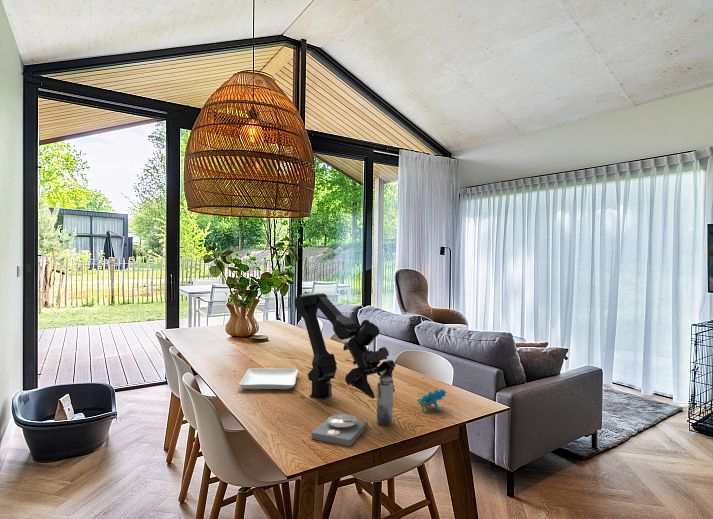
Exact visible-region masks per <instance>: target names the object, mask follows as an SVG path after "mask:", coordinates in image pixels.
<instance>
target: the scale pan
mask: <svg viewBox="0 0 713 519" xmlns="http://www.w3.org/2000/svg"><path fill="white" fill-rule="evenodd" d="M326 420H327V423H328V424H329V425H331V426H333V427H338V428H348V427H352V426H354V425H356V424H357V420H358V418H357V417H356V416H355V415H351V414H348V413H337V414H332V416H331V415H330V416H328V417H327V418H326Z"/></svg>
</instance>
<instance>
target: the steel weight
mask: <svg viewBox="0 0 713 519" xmlns="http://www.w3.org/2000/svg"><path fill="white" fill-rule="evenodd" d="M392 380H393V376H392V377H390V376H379V382H378V383H377V388H376V389H377V393H376V394H377V397H376V424H377V425H378V426H380V425H381V427H390V426H392V425H393V419H394V418H393V416H394V415H393V414H394V413H393V412H394V392H393V384H394V382H393V383H391V381H392Z"/></svg>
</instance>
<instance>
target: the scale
mask: <svg viewBox="0 0 713 519" xmlns="http://www.w3.org/2000/svg"><path fill="white" fill-rule="evenodd" d="M332 415H333V414H332ZM332 415H330V416H332ZM366 427H367V428H368V421H367V420H359V419H357V424H356V425H354V426H352V427H348V428H338V427H333V426H331V425H329V424H328V423H327V419H325V420H324V421H323V422H322V423H321V424H320V425H319V426H317V427H316V428H315V429H313V431H311V433H310V434H311V438H310V439H311V440H316V441H320V442H321V441H322V442H326V443H331V444H337V445H340V446H346V447H351V446H352V445H353V444H354V443H355V441H356V440H357V439H358V438H359V437H360V436H361V435H362V434H363V432H364V431H365V430H366V429H367V428H366ZM360 434H361V435H360Z"/></svg>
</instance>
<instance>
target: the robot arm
mask: <svg viewBox="0 0 713 519" xmlns="http://www.w3.org/2000/svg"><path fill="white" fill-rule="evenodd" d="M294 306H295V309H296V311H297V314H299V316H300V317H301V318H302V319H303V321H304V324H305V327H306V328H305V329H306V331H307V332H306V333H307V334H308V340H309V343H310V346H311V350H312V353H313V358H312V360H311V361H312V362H311V365H312V368H311V370H310V371H309V372H308V373H307V378H308V381H311V394H310V395H309V397H310V398H315V399H321V400H326V399H328V398H329V397H330V396H332V395H333V393H332V392H333V391H332V387H333V385H332V382H331V380H333V379H335V377H336V372H337V370H338V368H337V364H338V363H337V362H336V358H335V354H334V353H330V352H329V351H328V350H327V347H326V344H325V340H324V337H323V333H322V330H321V326H320V323H319V319H318V316H317V313H318V310H320V312H321V313H322V314H323V315H324V316H325V317H326V318H327V320H328V321H329V322H330V323H331V325H332V330H333V333H334V334H335V336H336V337H337V339H339V340H341V341H342V340H343V341H344V340H348V341H345V342H343V343H344V344H343V345H344V346H343V348H342V349H343V351H349V353H350V355H351V357H352V359H353V361H352V363H353V365H356V366H357V367H355V368H351V369H350V371H349V372H348V373H347V374H346V375H345V382H346V385H347V386H351V387H352V388H353V387H354V388H356V389H357V390H358V391H361V393H364V394H365V395H366V396H368V397H369V398H371V399H375V398H376V397H375V394H374V391H373V389H372V386H370V383H369V381H368V376H370V375H371V376H372V375H375V374H377V375H378V376H379V377H381V376H390V377H392V378H393V371H394V370H395V367H396V366H397V365H396V364H395V362H394V360H392V359H388V357H389V355H390V354H389V353H390V352H389V350H388V349H387V348H386V347H385V346H382V347H380V348H378V350H375V351H373V350H372V349H371V350H369V349H368V346H370V345H371V343H373V341H374V340H376V338H377V337H378V336H379V335H380V329H379V327H378V326H377V325H376V324H374V323H373V322H370V320H369V319H363V321H362V322H361V324H360V325H359V324H358V323H357V322H356V321H354V320H353V319H352V318H349V317H348V316H345V315H344V314H343V313H342V312H341V311H340V310H339V309H338V308H337V307H336V305H334V303H332V301H331V300H330V299H329V298H328V296H327V294H326V293H323V292H321V293H319V292H317V293H314V294H299V295H297V296H296V298H295V299H294ZM381 361H382V362H381ZM391 383H393V393H394V392H395V384H394V380H393V379H392V381H391Z"/></svg>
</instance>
